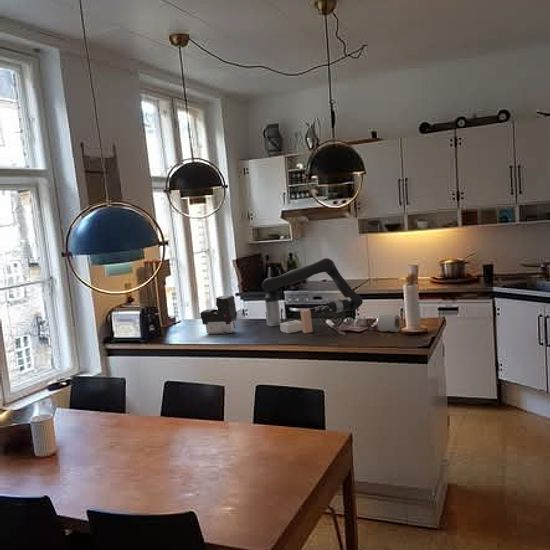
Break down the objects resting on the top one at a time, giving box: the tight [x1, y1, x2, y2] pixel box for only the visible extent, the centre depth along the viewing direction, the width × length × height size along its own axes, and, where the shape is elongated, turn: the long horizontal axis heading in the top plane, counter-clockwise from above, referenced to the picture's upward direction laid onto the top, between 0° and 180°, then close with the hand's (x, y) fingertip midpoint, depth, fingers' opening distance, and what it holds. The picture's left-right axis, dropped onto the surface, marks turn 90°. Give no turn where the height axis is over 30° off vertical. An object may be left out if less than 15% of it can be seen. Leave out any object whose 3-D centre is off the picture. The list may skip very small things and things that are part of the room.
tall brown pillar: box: [300, 309, 314, 334], centre depth 347 cm, size 5×4×14 cm
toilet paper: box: [377, 314, 402, 333], centre depth 330 cm, size 10×10×10 cm
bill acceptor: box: [199, 294, 238, 335], centre depth 375 cm, size 10×23×25 cm, turn 70°
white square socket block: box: [279, 319, 302, 334], centre depth 357 cm, size 12×10×6 cm
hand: (312, 311), depth 349 cm, fingers open, 8 cm apart
